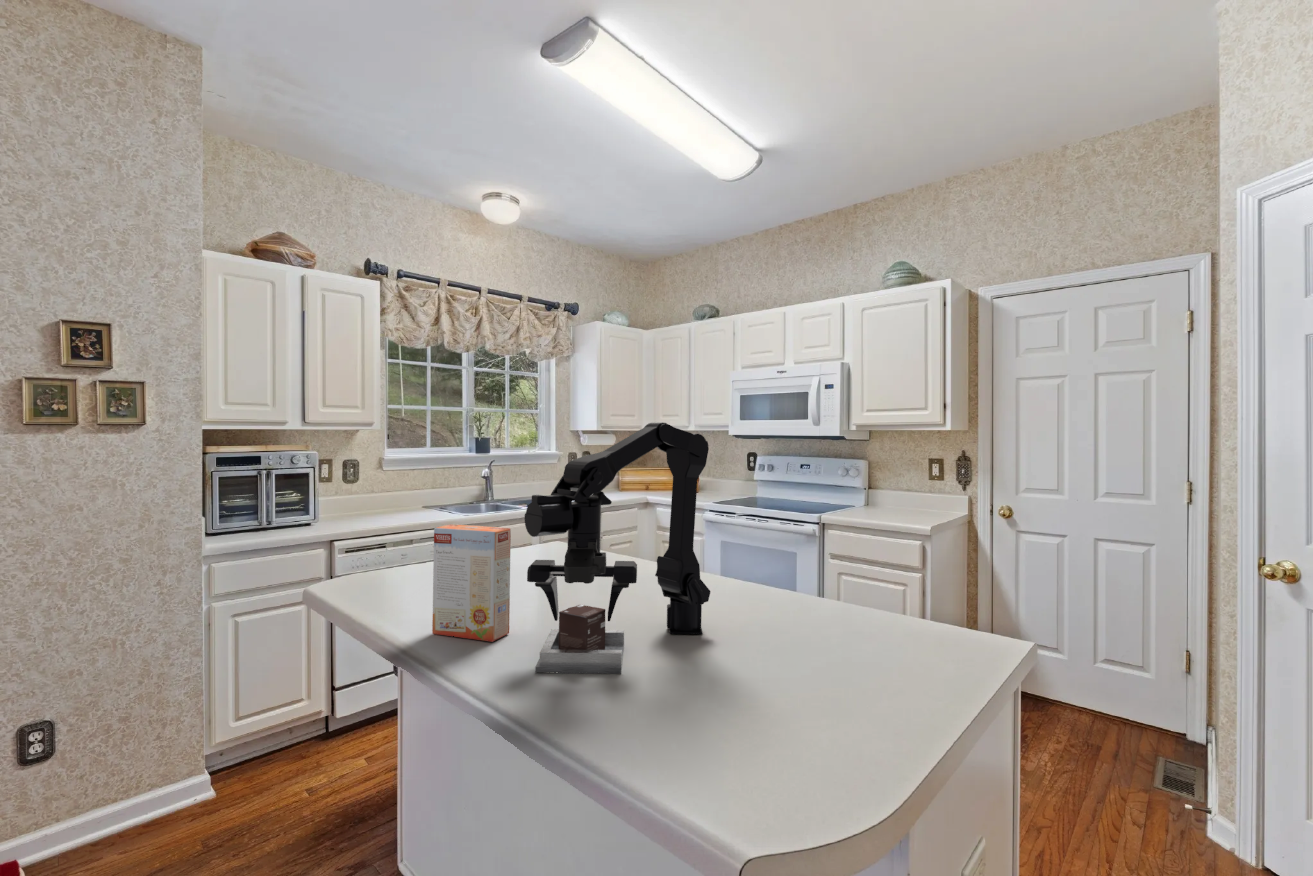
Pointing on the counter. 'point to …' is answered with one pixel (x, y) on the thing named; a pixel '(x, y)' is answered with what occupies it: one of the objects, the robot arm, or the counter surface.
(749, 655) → the counter surface
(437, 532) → the cracker box
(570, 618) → the box
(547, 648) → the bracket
